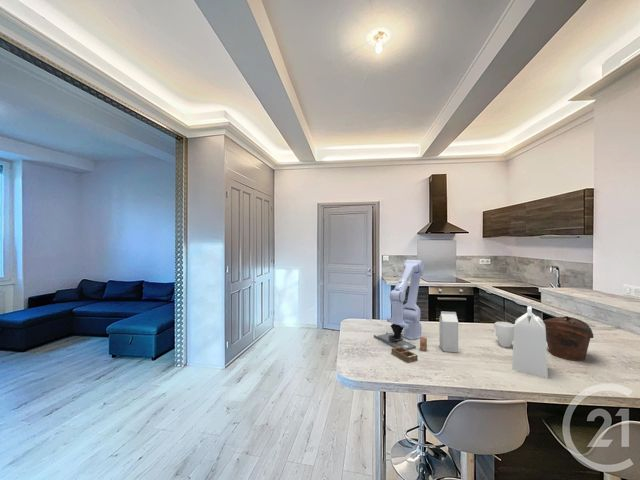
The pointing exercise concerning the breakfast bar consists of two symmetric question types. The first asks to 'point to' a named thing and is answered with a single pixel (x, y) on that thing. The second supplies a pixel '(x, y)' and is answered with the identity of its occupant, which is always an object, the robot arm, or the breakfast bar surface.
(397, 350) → the socket board
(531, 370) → the milk
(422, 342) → the peg
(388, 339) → the cover
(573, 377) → the breakfast bar surface
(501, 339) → the mug
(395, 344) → the pattern board
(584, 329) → the case
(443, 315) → the milk carton
